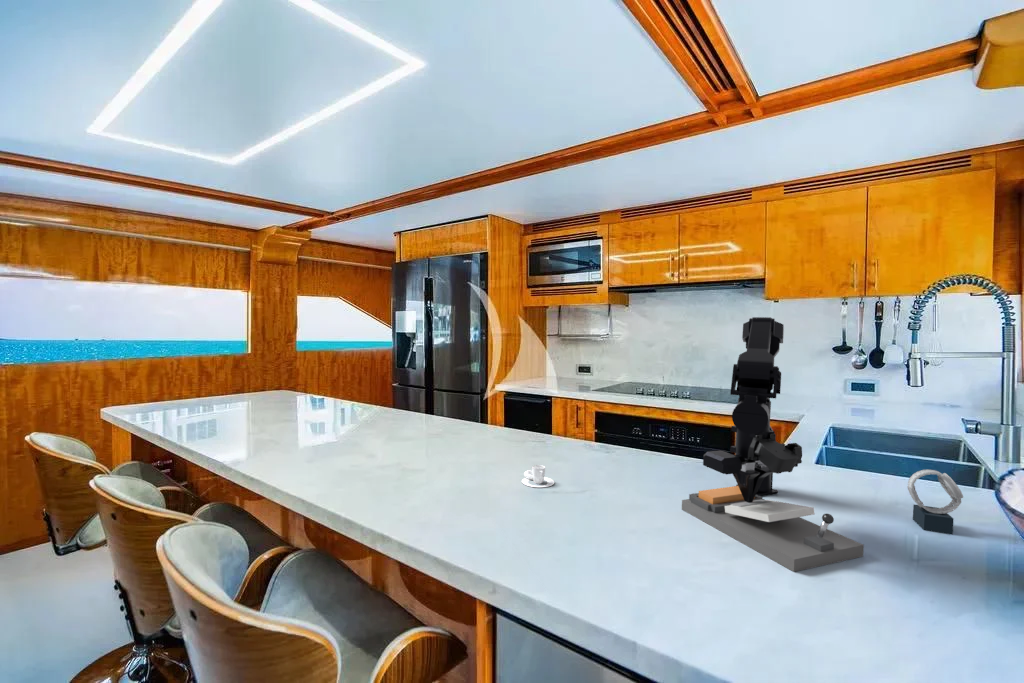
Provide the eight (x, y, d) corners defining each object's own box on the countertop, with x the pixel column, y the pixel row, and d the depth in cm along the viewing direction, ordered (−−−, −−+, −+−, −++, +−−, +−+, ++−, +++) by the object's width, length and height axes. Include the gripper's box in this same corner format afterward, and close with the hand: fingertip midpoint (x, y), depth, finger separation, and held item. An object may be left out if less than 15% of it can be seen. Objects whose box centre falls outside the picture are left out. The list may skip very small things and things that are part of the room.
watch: (966, 536, 88) (969, 478, 87) (912, 528, 91) (915, 472, 91) (952, 525, 93) (955, 470, 93) (901, 517, 96) (904, 464, 96)
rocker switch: (768, 505, 94) (767, 498, 94) (814, 514, 85) (813, 506, 85) (725, 512, 90) (724, 504, 91) (769, 522, 81) (767, 513, 81)
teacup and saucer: (521, 476, 119) (522, 460, 118) (553, 477, 118) (553, 461, 118) (521, 488, 110) (521, 471, 110) (555, 489, 110) (555, 472, 109)
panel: (740, 500, 104) (741, 486, 104) (863, 556, 79) (864, 537, 79) (681, 509, 98) (682, 494, 98) (793, 571, 74) (794, 551, 74)
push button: (739, 494, 101) (739, 485, 101) (754, 501, 97) (755, 491, 97) (698, 500, 97) (698, 490, 97) (712, 507, 94) (713, 497, 93)
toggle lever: (818, 533, 79) (828, 510, 78) (826, 540, 78) (837, 517, 76) (811, 534, 79) (821, 512, 77) (819, 541, 77) (830, 518, 76)
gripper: (750, 436, 81) (744, 525, 81) (827, 430, 87) (821, 513, 88) (703, 422, 91) (699, 501, 92) (775, 417, 97) (770, 491, 98)
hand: (748, 502), depth 92 cm, fingers closed, pressing on rocker switch
